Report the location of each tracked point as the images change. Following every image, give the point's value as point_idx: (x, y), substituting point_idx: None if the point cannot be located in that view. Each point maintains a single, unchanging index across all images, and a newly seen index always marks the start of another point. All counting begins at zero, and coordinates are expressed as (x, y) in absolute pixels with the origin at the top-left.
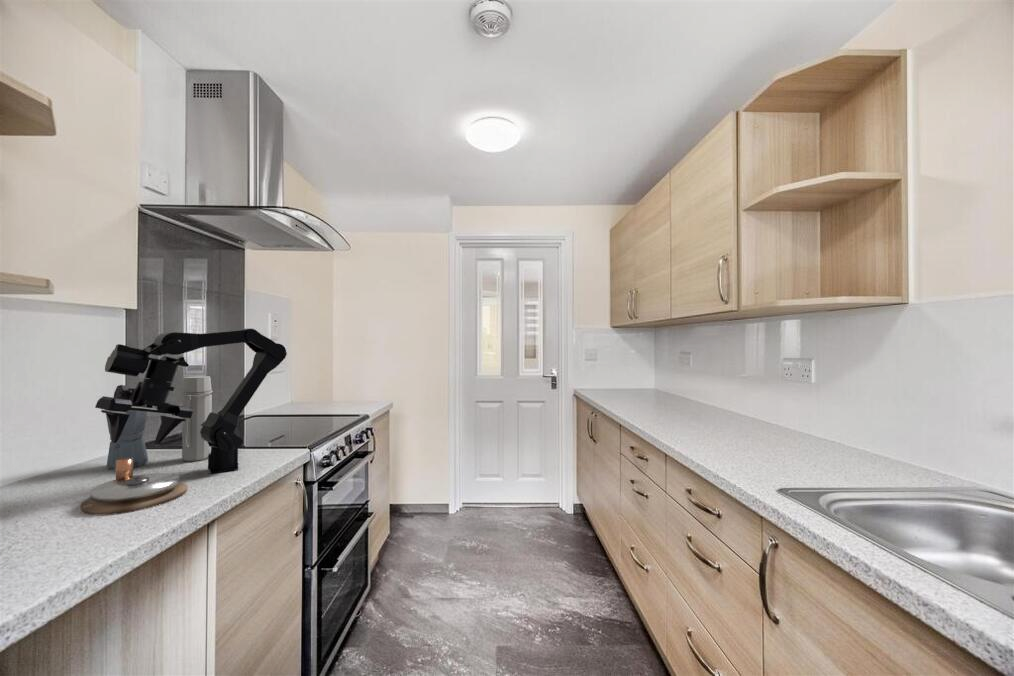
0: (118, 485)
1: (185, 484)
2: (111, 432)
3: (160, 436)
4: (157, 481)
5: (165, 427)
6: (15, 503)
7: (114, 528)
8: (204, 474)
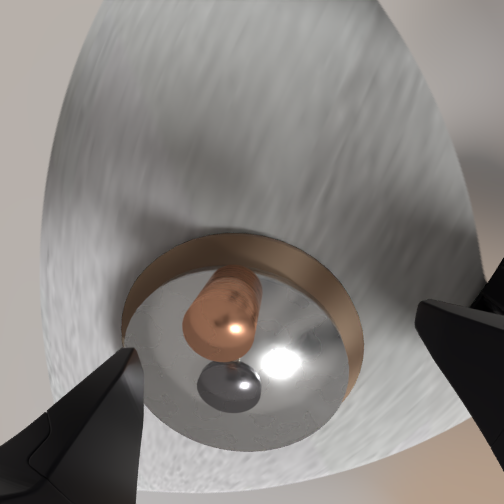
0: (187, 356)
1: (346, 394)
2: (78, 393)
3: (449, 359)
4: (268, 416)
5: (496, 404)
6: (77, 83)
7: (149, 447)
8: (462, 297)
